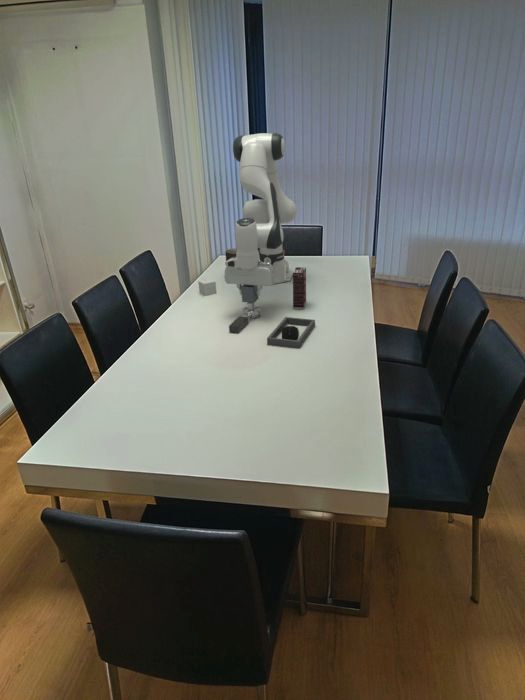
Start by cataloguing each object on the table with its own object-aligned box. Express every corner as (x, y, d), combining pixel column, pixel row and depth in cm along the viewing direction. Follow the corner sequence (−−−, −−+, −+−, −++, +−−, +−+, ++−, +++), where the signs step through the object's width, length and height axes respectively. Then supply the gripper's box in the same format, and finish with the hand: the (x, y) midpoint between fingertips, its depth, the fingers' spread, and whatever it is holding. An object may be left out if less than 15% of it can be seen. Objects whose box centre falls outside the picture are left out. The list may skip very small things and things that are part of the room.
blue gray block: (246, 297, 201) (245, 282, 198) (258, 298, 199) (257, 283, 196) (242, 301, 196) (240, 286, 194) (253, 302, 195) (253, 287, 192)
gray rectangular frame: (285, 322, 192) (285, 316, 191) (315, 325, 188) (315, 319, 187) (267, 344, 175) (266, 338, 174) (299, 348, 171) (299, 341, 170)
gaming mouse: (280, 347, 173) (279, 337, 172) (282, 330, 187) (282, 321, 185) (297, 347, 173) (297, 337, 171) (299, 330, 186) (298, 321, 184)
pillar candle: (224, 279, 248) (222, 250, 242) (230, 273, 257) (229, 245, 250) (242, 280, 246) (240, 251, 239) (248, 274, 254) (246, 246, 247)
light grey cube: (216, 293, 229) (215, 281, 226) (205, 296, 226) (203, 284, 223) (210, 290, 233) (209, 278, 231) (199, 293, 231) (198, 281, 228)
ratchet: (246, 312, 205) (246, 298, 202) (262, 313, 203) (261, 300, 200) (225, 332, 187) (224, 317, 184) (242, 334, 185) (241, 319, 182)
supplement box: (304, 309, 204) (303, 273, 198) (292, 309, 205) (292, 273, 199) (306, 302, 212) (306, 267, 205) (295, 302, 213) (295, 267, 206)
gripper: (275, 260, 190) (276, 294, 196) (228, 258, 197) (230, 290, 203) (270, 265, 185) (271, 299, 191) (221, 262, 192) (224, 295, 197)
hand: (250, 294), depth 197 cm, fingers closed on blue gray block, 5 cm apart
